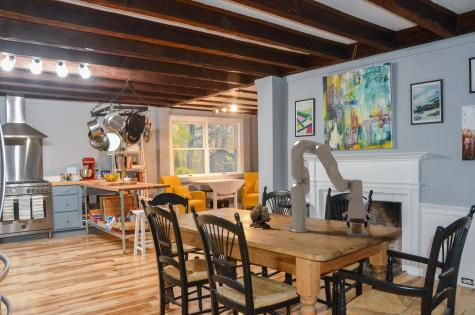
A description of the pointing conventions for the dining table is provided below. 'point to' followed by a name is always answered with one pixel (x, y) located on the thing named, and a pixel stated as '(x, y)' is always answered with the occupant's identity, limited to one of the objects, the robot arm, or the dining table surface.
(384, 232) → the dining table surface
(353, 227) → the cube
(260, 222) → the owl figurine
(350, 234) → the trivet
